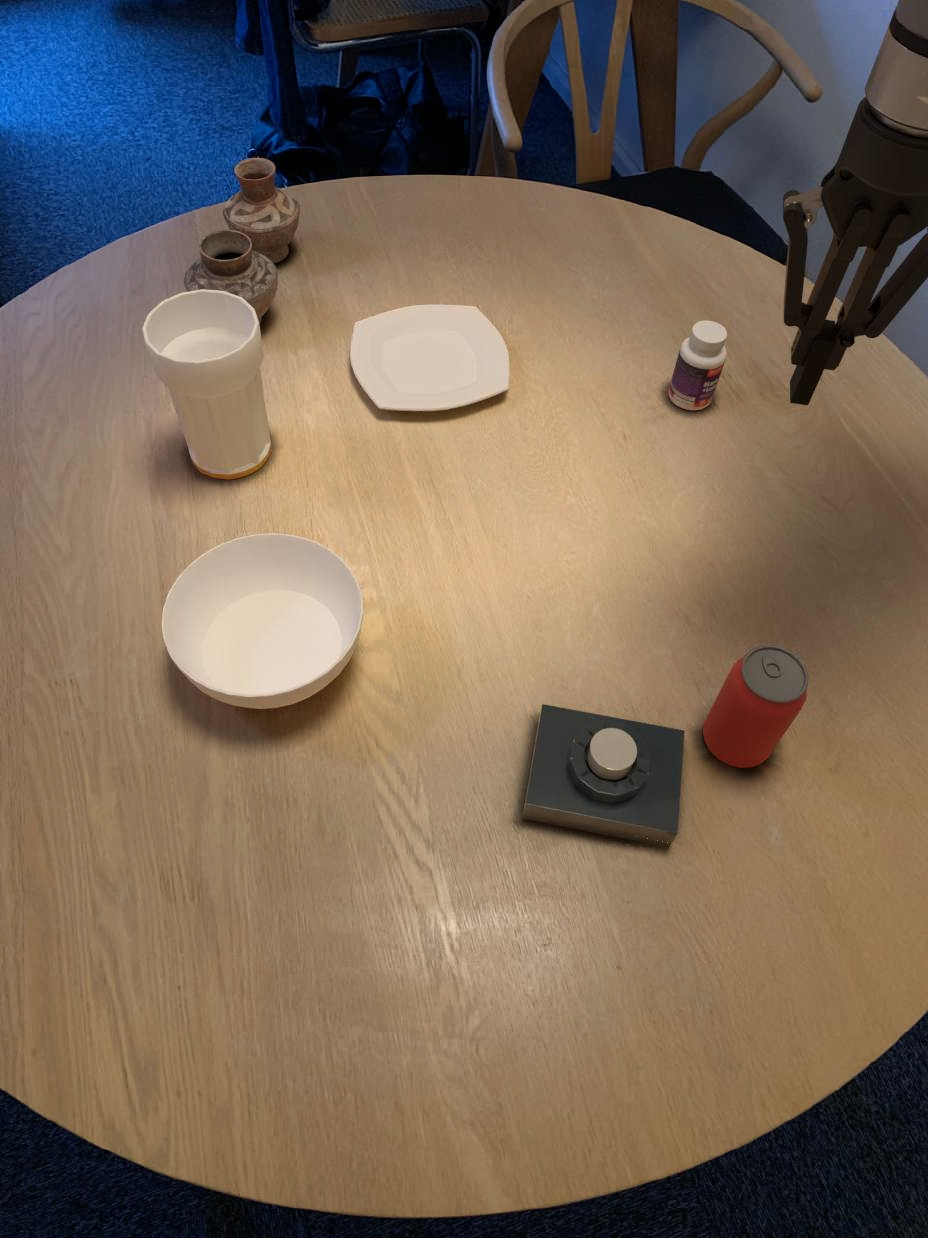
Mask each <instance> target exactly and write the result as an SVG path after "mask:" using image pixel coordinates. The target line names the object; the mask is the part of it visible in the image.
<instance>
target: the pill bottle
mask: <svg viewBox="0 0 928 1238" xmlns="http://www.w3.org/2000/svg"><path fill="white" fill-rule="evenodd" d="M727 337H728V331H727V329H726V327H724V325H723V324H720V323H719V322H717V321H713V320H699V321H697V322H695V324H693V326H692V328H691V330H690V334H689V336H688V337H686V338H685V339H684V340H683V342H682V343H681V345H680V348H679V351H678V355H677V357H676V362H675V366H674V369H673V372H672V376H671V379H670V383H669V387H668V397H669V399H670V401H671V402H672V403H673V404H674V405H675V406H677V407H679V408H681V409H684V410H688V411H699V410H703V409H705V408H707V407H708V406H709V405H710V404H711V403H712V401H713V398H714V396H715V392H716V389H717V386H718V383H719V380H720V377H721V375H722V371H723V369H724V366H725V362H726V359H727V355H728V353H727V348H726V346H725V344H726V341H727Z"/></svg>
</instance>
